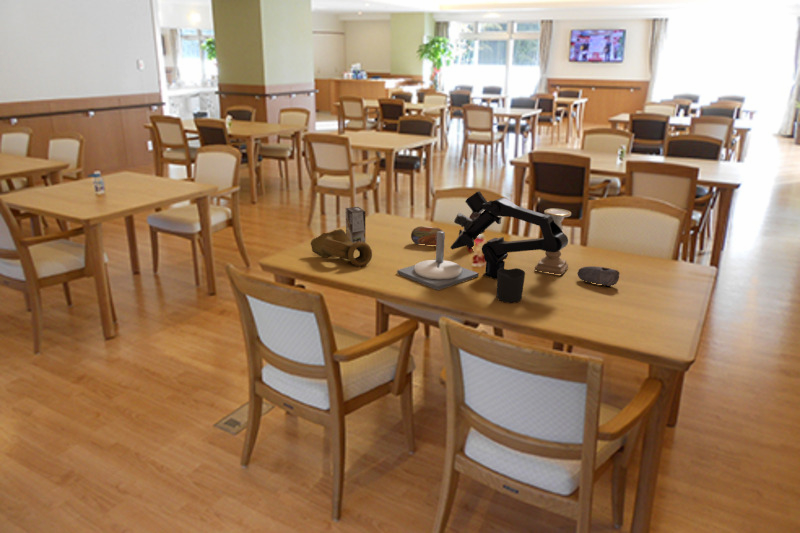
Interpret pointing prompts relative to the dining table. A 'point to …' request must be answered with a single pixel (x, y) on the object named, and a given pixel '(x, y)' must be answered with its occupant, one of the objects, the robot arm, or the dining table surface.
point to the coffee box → (355, 224)
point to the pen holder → (510, 284)
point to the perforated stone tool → (599, 275)
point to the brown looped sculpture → (341, 247)
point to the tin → (425, 235)
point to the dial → (438, 264)
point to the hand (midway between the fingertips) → (451, 248)
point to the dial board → (437, 283)
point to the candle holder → (552, 258)
